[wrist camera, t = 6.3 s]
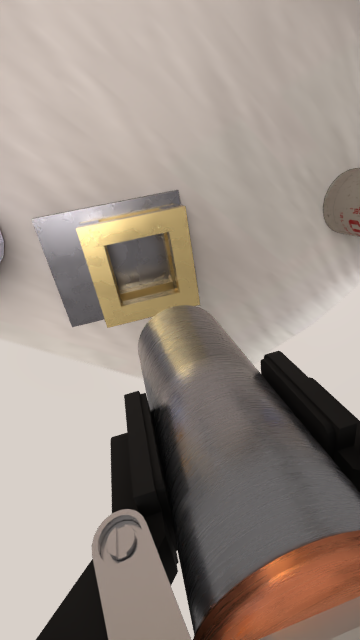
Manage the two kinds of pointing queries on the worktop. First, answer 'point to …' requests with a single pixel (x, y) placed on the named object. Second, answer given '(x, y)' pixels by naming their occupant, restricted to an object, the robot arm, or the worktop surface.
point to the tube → (244, 486)
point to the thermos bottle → (344, 203)
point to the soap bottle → (1, 247)
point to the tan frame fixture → (121, 259)
